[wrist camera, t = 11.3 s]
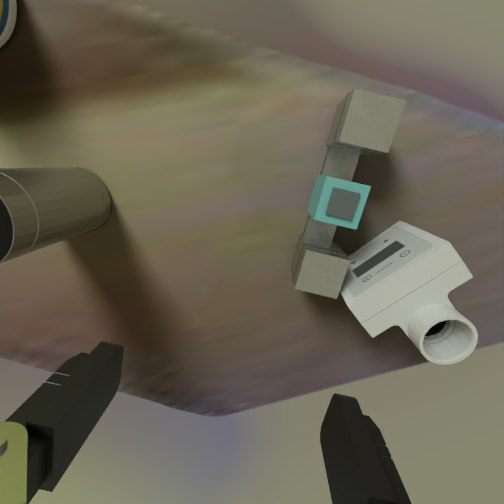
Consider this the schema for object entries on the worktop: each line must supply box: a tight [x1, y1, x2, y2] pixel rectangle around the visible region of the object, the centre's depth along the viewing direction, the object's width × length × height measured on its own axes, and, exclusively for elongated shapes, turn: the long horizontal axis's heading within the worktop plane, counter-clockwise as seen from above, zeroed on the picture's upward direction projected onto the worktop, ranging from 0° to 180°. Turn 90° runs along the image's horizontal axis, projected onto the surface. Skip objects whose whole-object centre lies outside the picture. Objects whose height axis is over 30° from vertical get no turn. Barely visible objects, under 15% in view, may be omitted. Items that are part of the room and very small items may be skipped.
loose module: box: [307, 174, 371, 230], centre depth 36 cm, size 5×5×7 cm
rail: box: [291, 88, 406, 299], centre depth 37 cm, size 5×22×10 cm, turn 167°
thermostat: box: [340, 221, 478, 365], centre depth 37 cm, size 12×14×15 cm
